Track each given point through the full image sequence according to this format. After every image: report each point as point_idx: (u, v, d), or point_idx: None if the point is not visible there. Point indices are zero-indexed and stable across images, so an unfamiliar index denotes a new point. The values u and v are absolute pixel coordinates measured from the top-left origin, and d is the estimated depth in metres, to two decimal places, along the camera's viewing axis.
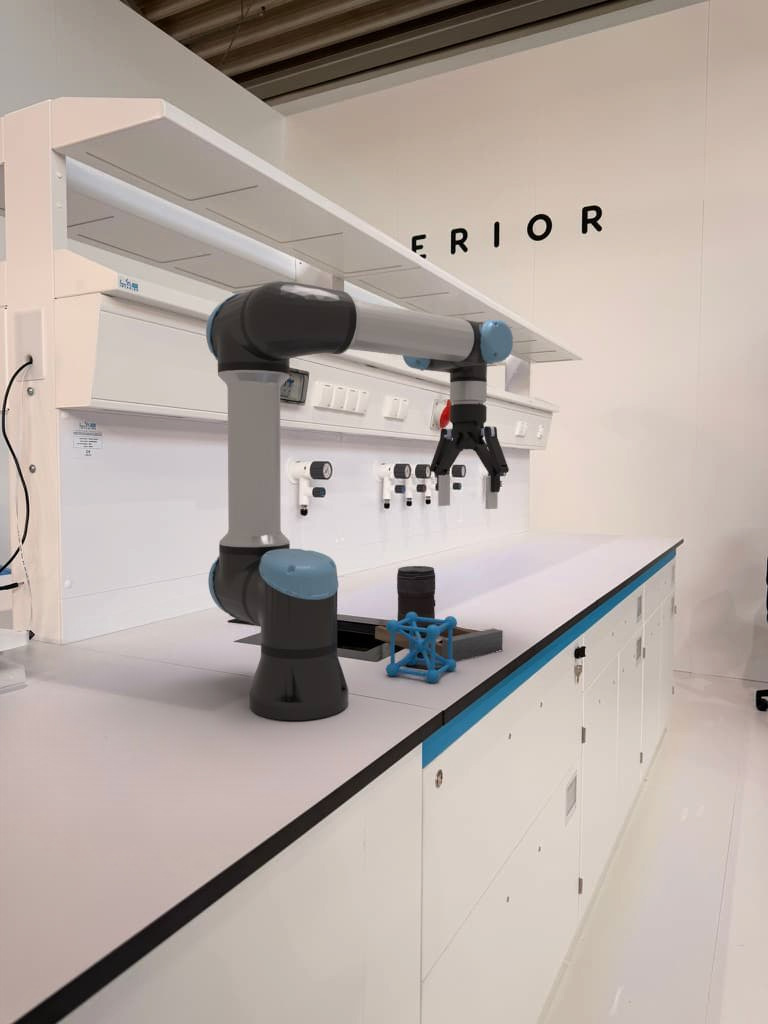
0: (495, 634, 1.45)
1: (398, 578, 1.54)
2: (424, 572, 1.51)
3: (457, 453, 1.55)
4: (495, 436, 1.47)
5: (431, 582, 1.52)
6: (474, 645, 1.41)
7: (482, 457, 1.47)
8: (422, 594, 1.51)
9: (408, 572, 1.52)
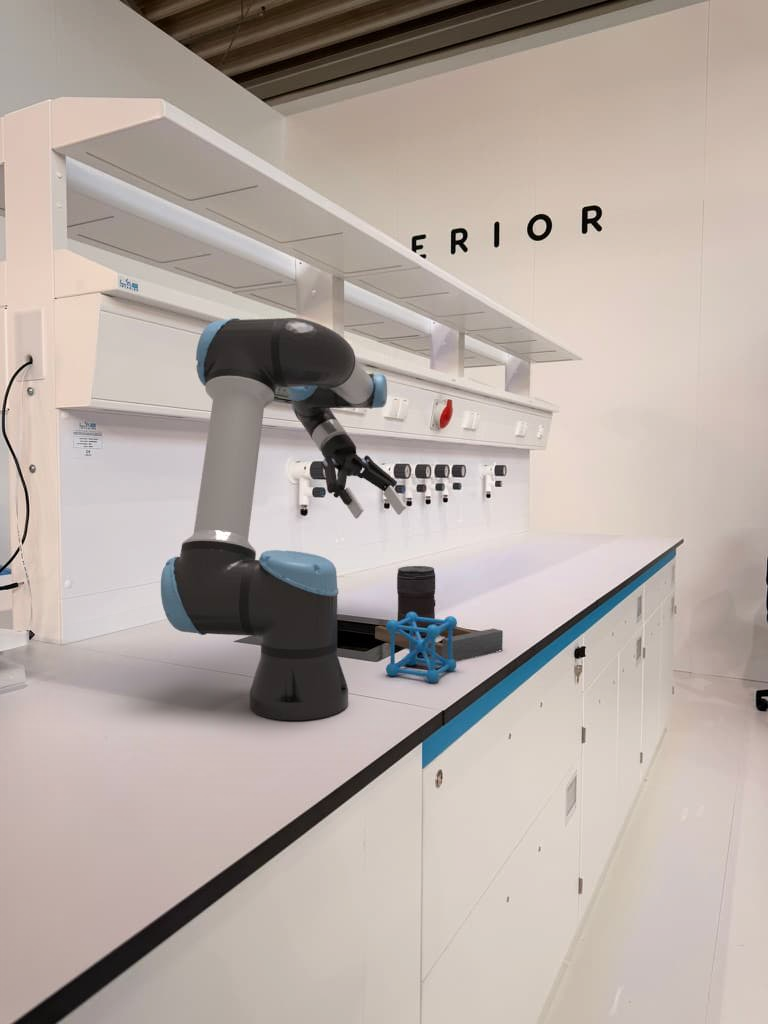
0: (495, 634, 1.45)
1: (398, 578, 1.54)
2: (424, 572, 1.52)
3: None
4: None
5: (431, 582, 1.52)
6: (474, 645, 1.41)
7: (377, 474, 1.69)
8: (422, 594, 1.51)
9: (408, 572, 1.52)
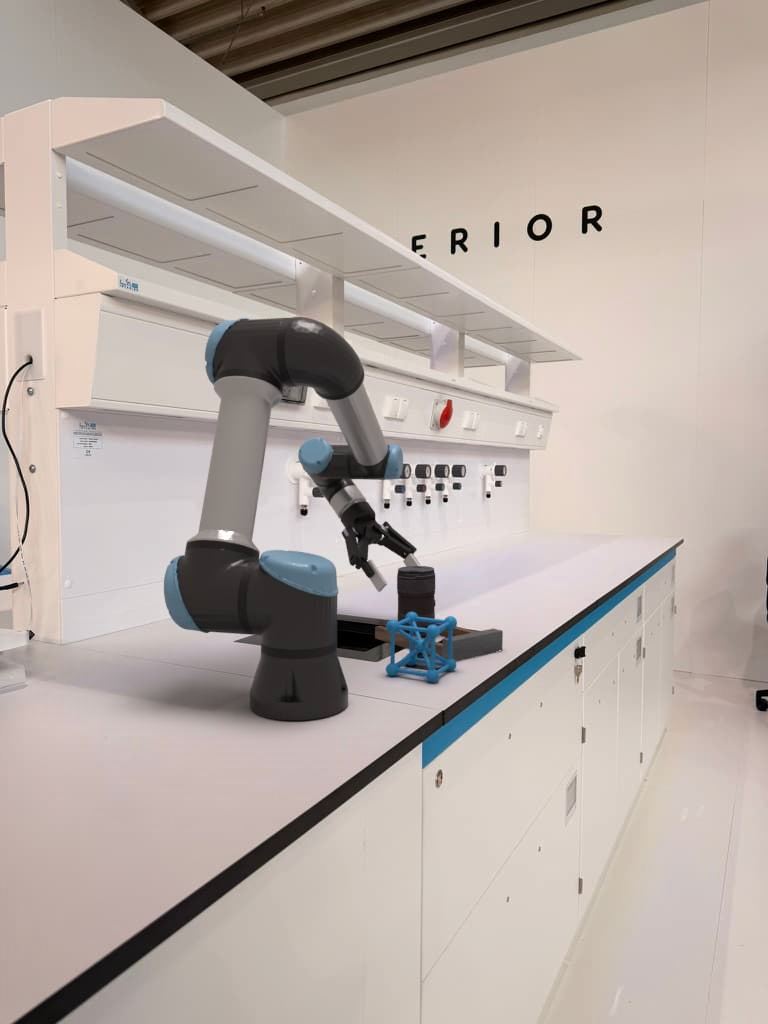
0: (495, 634, 1.45)
1: (398, 578, 1.54)
2: (424, 572, 1.51)
3: None
4: None
5: (431, 582, 1.52)
6: (474, 645, 1.41)
7: (397, 542, 1.66)
8: (422, 594, 1.51)
9: (408, 572, 1.52)
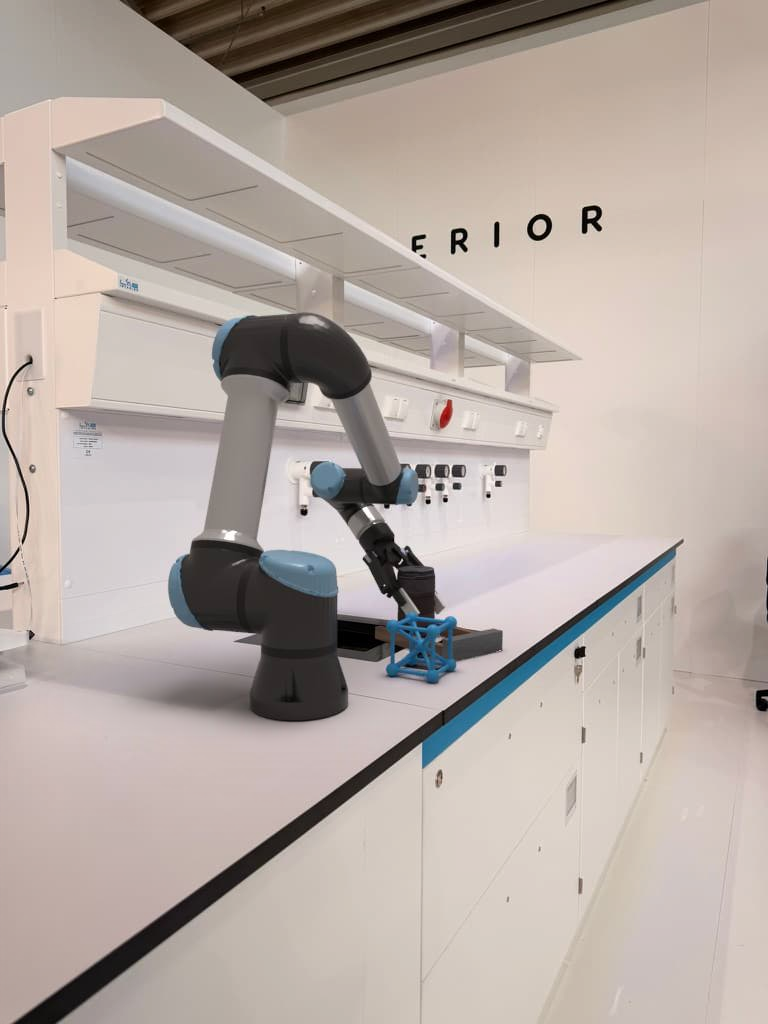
0: (495, 634, 1.45)
1: (398, 578, 1.54)
2: (424, 572, 1.51)
3: None
4: None
5: (431, 582, 1.52)
6: (474, 645, 1.41)
7: None
8: (422, 593, 1.51)
9: (408, 572, 1.52)
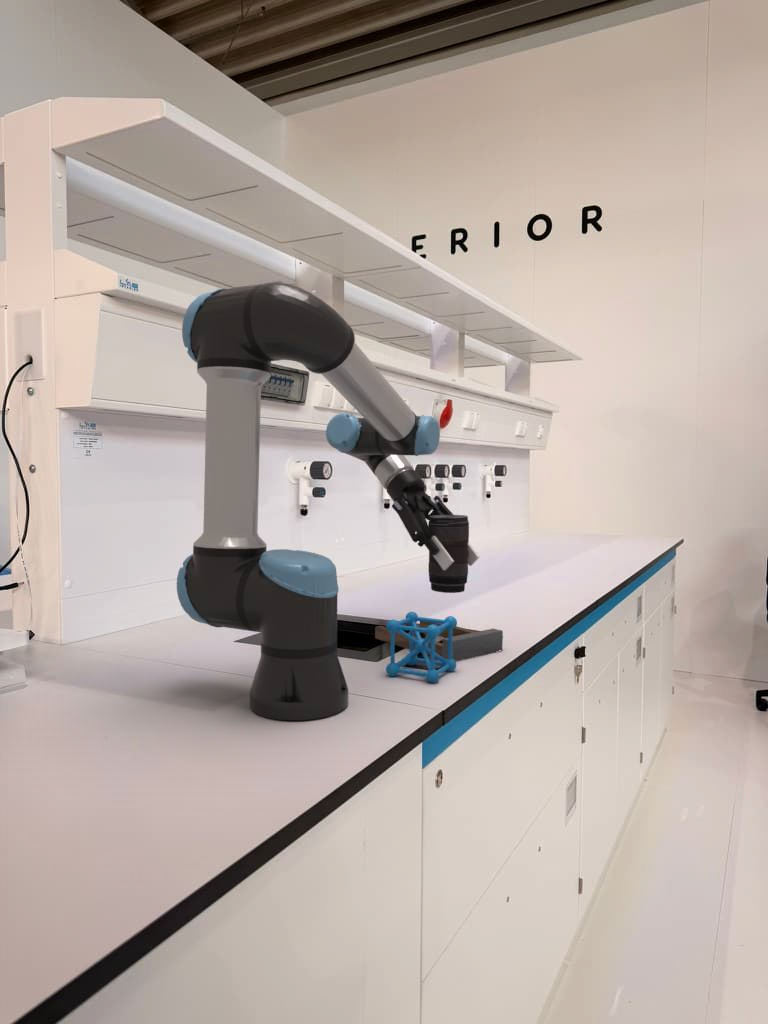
0: (495, 634, 1.45)
1: (430, 526, 1.45)
2: (458, 519, 1.43)
3: None
4: None
5: (465, 529, 1.44)
6: (474, 645, 1.41)
7: None
8: (456, 541, 1.43)
9: (441, 519, 1.43)
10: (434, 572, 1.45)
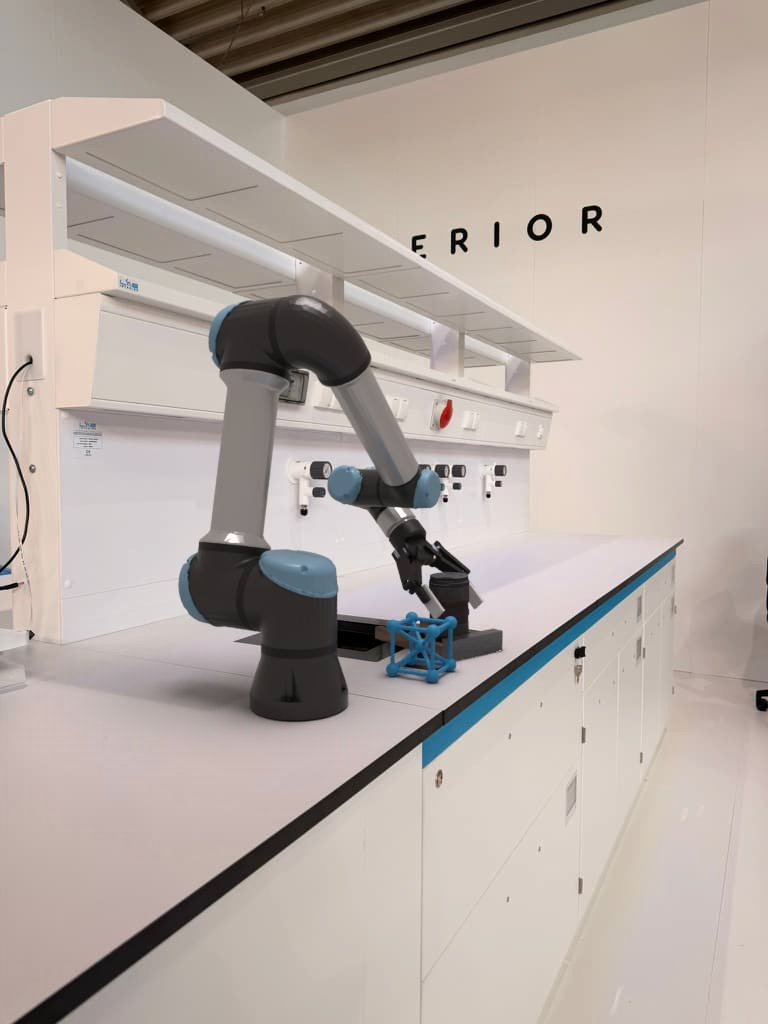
0: (495, 634, 1.45)
1: (430, 585, 1.45)
2: (458, 579, 1.43)
3: None
4: None
5: (465, 589, 1.44)
6: (474, 645, 1.41)
7: (450, 563, 1.53)
8: (456, 602, 1.43)
9: (441, 579, 1.43)
10: None
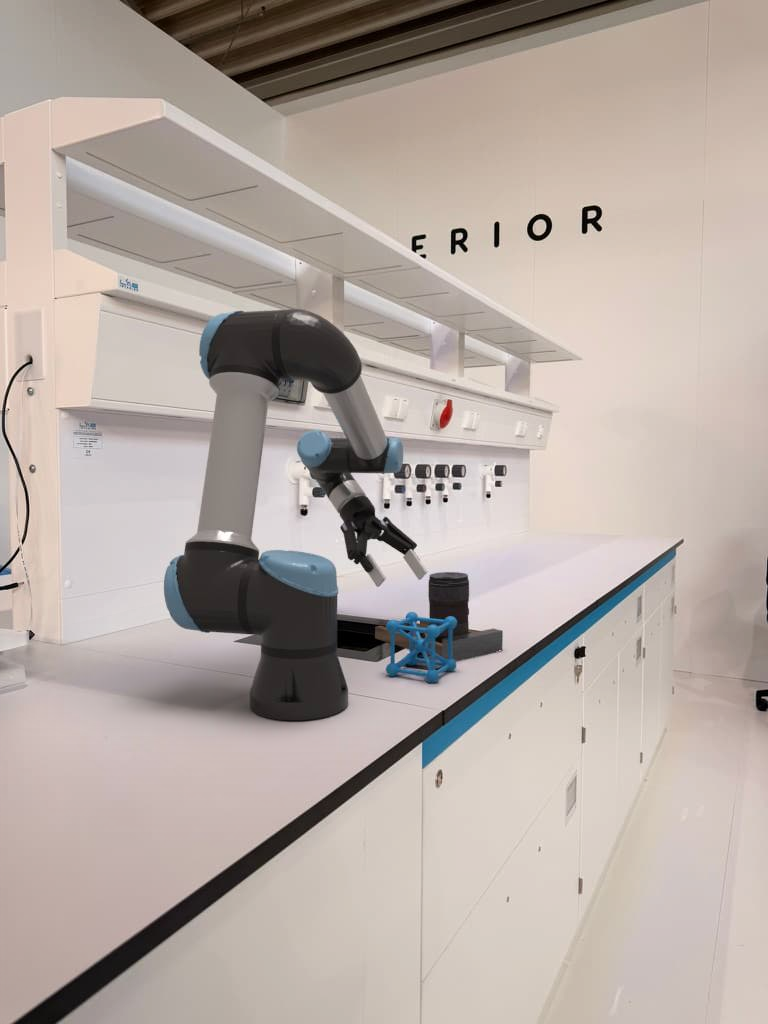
0: (495, 634, 1.45)
1: (430, 585, 1.45)
2: (458, 579, 1.43)
3: None
4: None
5: (465, 589, 1.44)
6: (474, 645, 1.41)
7: (397, 537, 1.64)
8: (456, 602, 1.43)
9: (441, 579, 1.43)
10: None
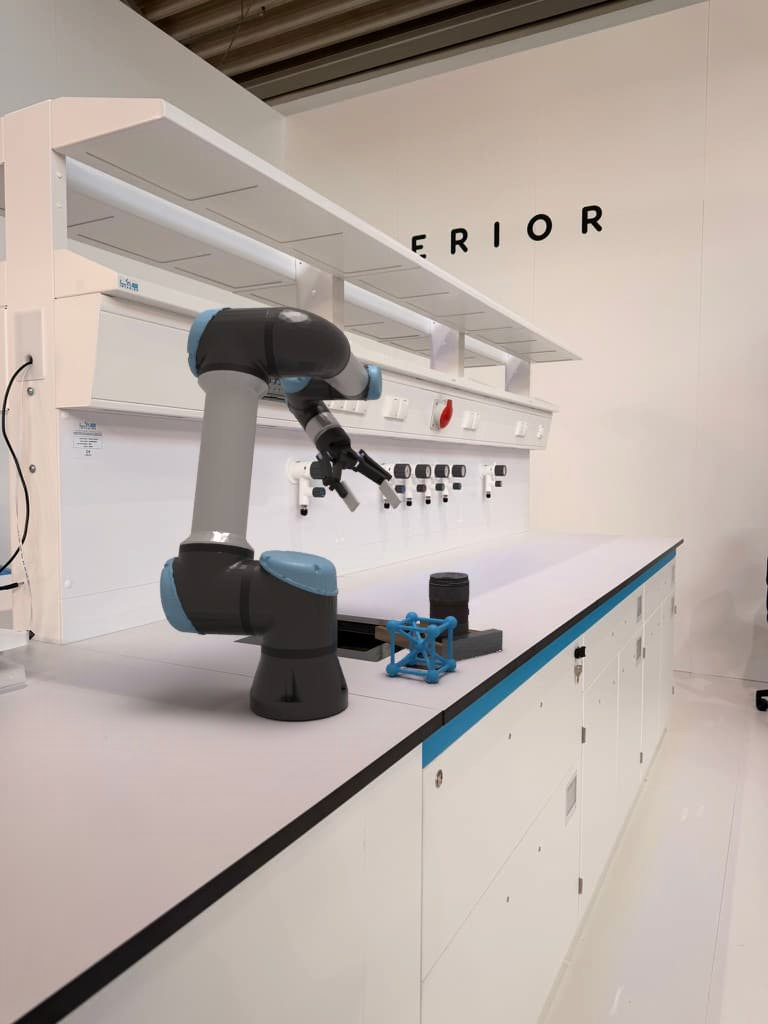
0: (495, 634, 1.45)
1: (430, 585, 1.45)
2: (458, 579, 1.43)
3: None
4: None
5: (465, 589, 1.44)
6: (474, 645, 1.41)
7: (372, 468, 1.66)
8: (456, 602, 1.43)
9: (441, 579, 1.43)
10: None
